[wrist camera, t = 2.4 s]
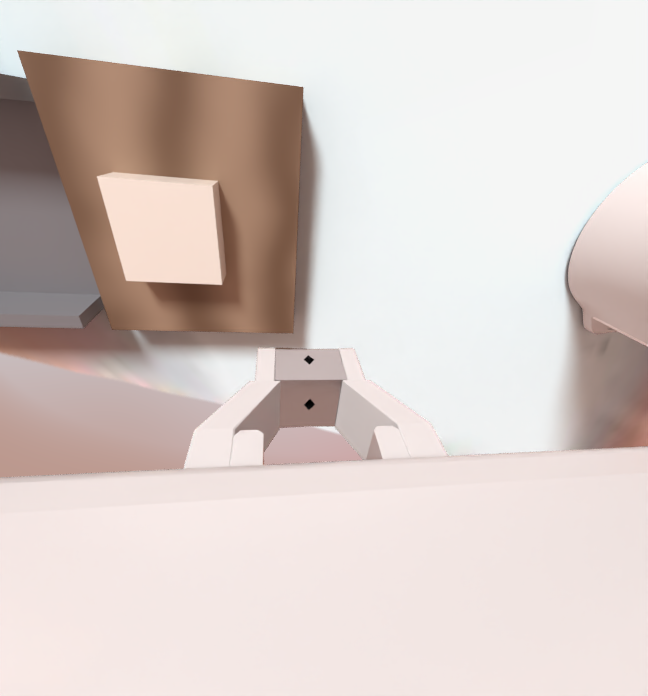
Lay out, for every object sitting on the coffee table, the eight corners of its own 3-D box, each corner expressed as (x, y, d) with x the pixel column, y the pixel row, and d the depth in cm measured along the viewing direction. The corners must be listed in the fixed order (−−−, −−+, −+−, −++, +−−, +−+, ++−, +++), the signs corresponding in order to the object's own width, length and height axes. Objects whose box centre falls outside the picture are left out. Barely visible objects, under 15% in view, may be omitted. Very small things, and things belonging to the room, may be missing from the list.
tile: (218, 180, 19) (212, 185, 18) (226, 273, 23) (222, 284, 21) (113, 172, 19) (96, 176, 17) (137, 269, 22) (126, 281, 20)
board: (301, 91, 19) (303, 87, 17) (292, 318, 28) (293, 333, 26) (48, 59, 17) (17, 50, 15) (125, 314, 26) (111, 329, 24)
